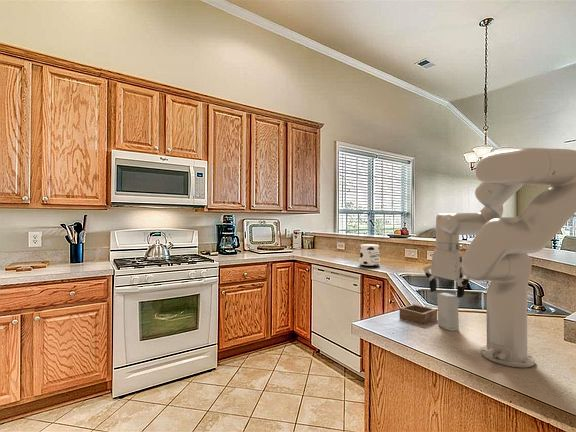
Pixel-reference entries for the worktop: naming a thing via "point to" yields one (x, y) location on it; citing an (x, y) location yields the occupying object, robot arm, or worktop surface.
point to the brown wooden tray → (418, 314)
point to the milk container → (369, 255)
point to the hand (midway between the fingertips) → (446, 293)
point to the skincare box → (448, 311)
